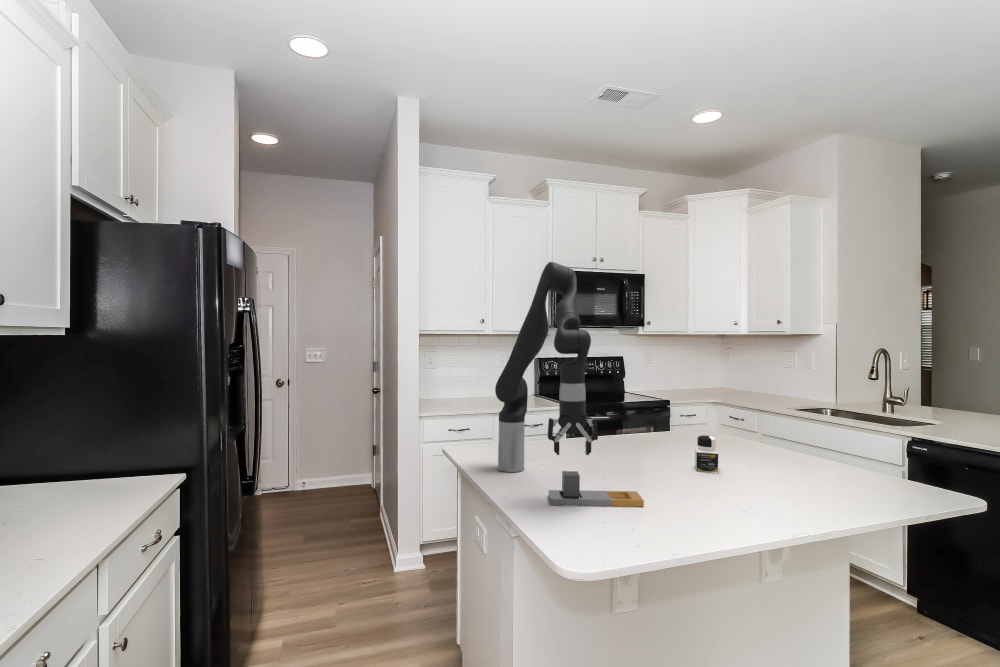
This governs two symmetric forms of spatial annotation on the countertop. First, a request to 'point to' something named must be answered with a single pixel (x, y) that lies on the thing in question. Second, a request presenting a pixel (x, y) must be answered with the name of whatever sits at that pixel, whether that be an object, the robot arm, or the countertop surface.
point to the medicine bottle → (706, 454)
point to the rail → (598, 498)
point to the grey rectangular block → (570, 484)
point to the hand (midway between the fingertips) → (572, 454)
